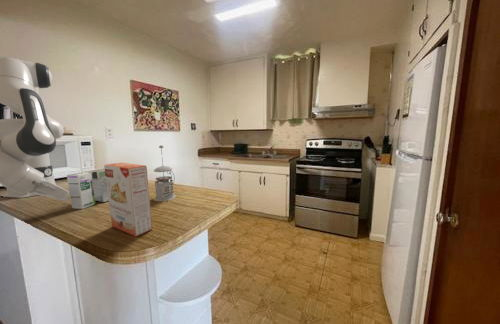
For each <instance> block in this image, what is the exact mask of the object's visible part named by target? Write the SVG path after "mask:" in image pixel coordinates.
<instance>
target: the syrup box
mask: <svg viewBox="0 0 500 324" xmlns="http://www.w3.org/2000/svg"><path fill="white" fill-rule="evenodd" d="M66 179H67V185H68V191H69V192H70V193H69V196H70V197H69V199H70V203H71V208H72V209H75V210H76V209H78V210H85V208H88V207H92V206H95V205H96V201H95V198H94V191H93V184H92V177H91V173H90V172H84V171H81V172H76V173H70V174H67V175H66Z"/></svg>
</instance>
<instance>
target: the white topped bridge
mask: <svg viewBox="0 0 500 324" xmlns="http://www.w3.org/2000/svg"><path fill="white" fill-rule="evenodd" d="M83 172H90V173H91V177H92V179H95V178H93V172H97V178H105V179H106V175H105V167H104V168H98V169H91V170H84V171H83Z"/></svg>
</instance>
